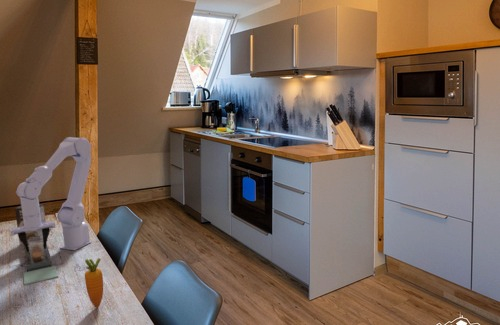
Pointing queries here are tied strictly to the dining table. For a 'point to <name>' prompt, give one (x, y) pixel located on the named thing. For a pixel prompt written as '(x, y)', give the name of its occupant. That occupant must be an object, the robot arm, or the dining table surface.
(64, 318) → the dining table surface
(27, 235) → the coffee box
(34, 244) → the lever cap
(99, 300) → the carrot
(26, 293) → the dining table surface
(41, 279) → the mat
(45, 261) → the hand plane
